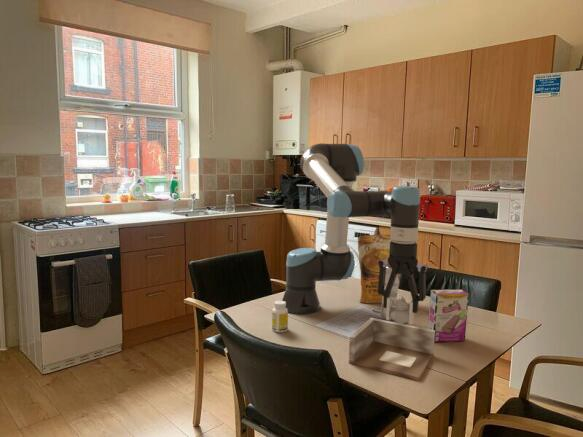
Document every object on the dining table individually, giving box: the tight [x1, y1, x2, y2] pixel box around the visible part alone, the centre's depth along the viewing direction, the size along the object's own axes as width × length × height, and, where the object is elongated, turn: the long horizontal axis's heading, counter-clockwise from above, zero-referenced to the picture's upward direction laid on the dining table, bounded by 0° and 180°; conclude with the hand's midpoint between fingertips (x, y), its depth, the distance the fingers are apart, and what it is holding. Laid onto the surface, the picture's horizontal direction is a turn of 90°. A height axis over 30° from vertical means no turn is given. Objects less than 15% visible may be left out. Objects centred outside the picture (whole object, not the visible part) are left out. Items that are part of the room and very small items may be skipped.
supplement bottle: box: [271, 300, 289, 333], centre depth 149 cm, size 5×5×10 cm
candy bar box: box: [427, 289, 470, 343], centre depth 143 cm, size 11×5×16 cm, turn 97°
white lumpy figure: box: [391, 295, 409, 324], centre depth 125 cm, size 5×7×8 cm
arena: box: [348, 317, 435, 382], centre depth 128 cm, size 20×18×8 cm
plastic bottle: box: [379, 266, 400, 322], centre depth 160 cm, size 6×7×20 cm
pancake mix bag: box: [357, 234, 392, 304], centre depth 182 cm, size 7×19×28 cm, turn 103°
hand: (399, 320), depth 125 cm, fingers closed on white lumpy figure, 6 cm apart
